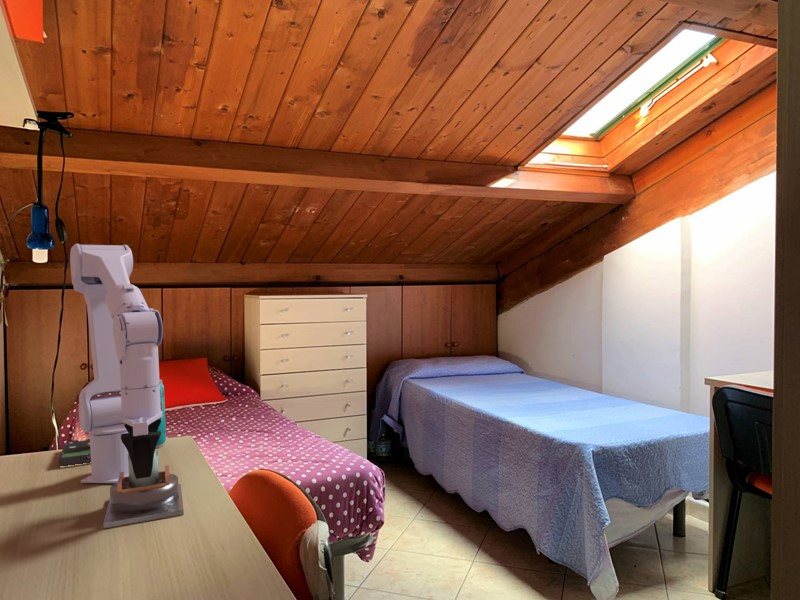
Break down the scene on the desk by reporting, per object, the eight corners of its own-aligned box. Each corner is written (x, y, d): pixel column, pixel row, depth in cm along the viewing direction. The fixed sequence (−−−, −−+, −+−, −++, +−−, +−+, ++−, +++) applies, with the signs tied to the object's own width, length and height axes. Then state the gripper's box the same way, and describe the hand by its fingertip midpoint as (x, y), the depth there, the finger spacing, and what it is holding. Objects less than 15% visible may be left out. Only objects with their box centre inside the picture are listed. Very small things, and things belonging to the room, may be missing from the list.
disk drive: (65, 453, 126) (59, 471, 113) (64, 441, 126) (58, 457, 113) (117, 446, 130) (116, 462, 117) (116, 434, 130) (116, 449, 117)
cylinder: (129, 481, 92) (128, 451, 91) (159, 477, 93) (157, 447, 93) (128, 490, 87) (127, 458, 87) (159, 485, 89) (157, 454, 89)
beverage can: (141, 452, 122) (138, 383, 122) (136, 446, 127) (133, 380, 127) (169, 447, 126) (166, 380, 126) (162, 442, 130) (160, 377, 130)
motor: (110, 499, 94) (109, 468, 94) (180, 488, 99) (179, 458, 98) (103, 528, 82) (101, 492, 82) (183, 514, 87) (182, 480, 87)
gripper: (115, 382, 95) (119, 461, 95) (108, 396, 82) (112, 488, 82) (160, 378, 98) (164, 455, 98) (160, 391, 85) (164, 480, 85)
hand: (144, 470), depth 90 cm, fingers open, 7 cm apart
